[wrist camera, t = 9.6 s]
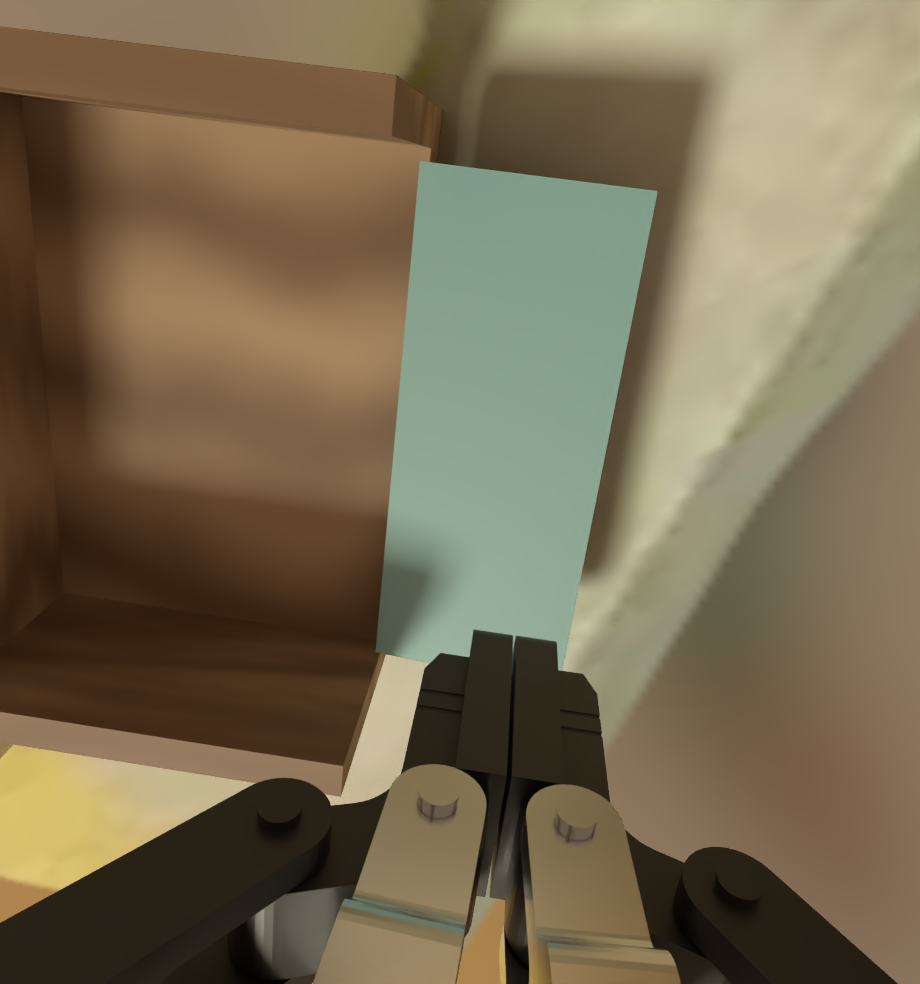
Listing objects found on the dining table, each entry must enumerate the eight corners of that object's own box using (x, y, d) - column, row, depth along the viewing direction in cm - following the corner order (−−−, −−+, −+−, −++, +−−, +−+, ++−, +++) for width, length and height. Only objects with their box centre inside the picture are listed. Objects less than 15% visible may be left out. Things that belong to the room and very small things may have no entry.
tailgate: (420, 161, 23) (657, 190, 22) (435, 163, 25) (653, 190, 24) (375, 651, 29) (558, 689, 28) (390, 621, 31) (562, 656, 30)
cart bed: (19, 57, 26) (-229, -2, 17) (442, 109, 25) (396, 75, 17) (64, 589, 33) (-94, 727, 25) (390, 639, 33) (340, 796, 24)
